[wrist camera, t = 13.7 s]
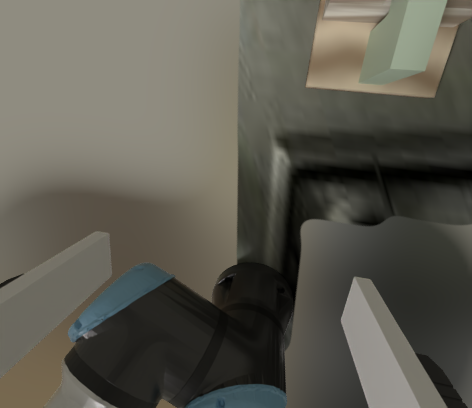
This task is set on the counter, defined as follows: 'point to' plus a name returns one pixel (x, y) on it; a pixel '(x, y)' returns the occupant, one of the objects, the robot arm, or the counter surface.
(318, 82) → the slotted base
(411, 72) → the sage slotted plate
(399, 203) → the counter surface
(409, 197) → the counter surface
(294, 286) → the counter surface
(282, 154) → the counter surface
